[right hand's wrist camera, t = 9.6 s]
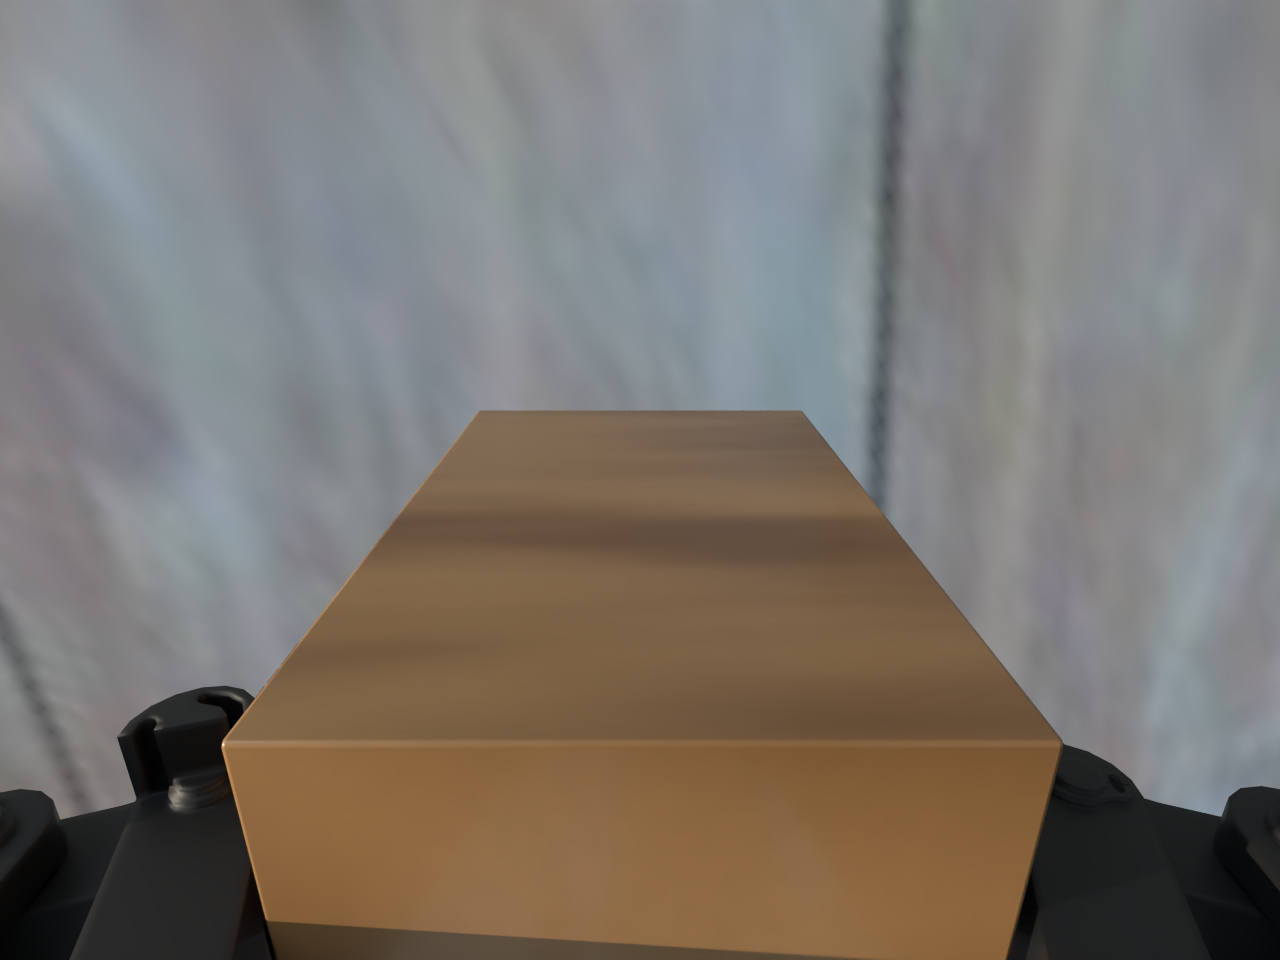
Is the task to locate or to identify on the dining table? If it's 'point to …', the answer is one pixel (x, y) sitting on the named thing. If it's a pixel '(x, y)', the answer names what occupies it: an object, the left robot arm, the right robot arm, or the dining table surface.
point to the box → (641, 717)
